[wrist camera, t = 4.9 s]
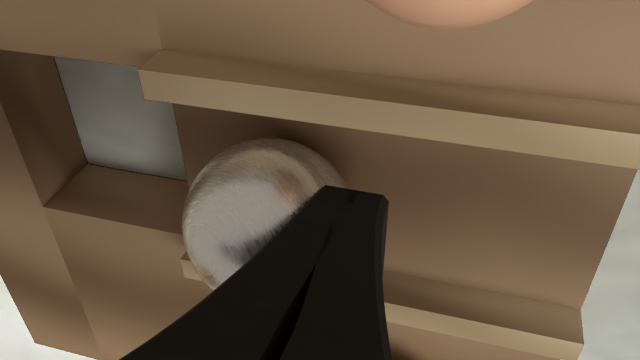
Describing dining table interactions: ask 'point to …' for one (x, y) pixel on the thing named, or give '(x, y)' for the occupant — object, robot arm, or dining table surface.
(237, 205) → the steel ball
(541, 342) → the hole plate
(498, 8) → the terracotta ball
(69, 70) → the dining table surface
